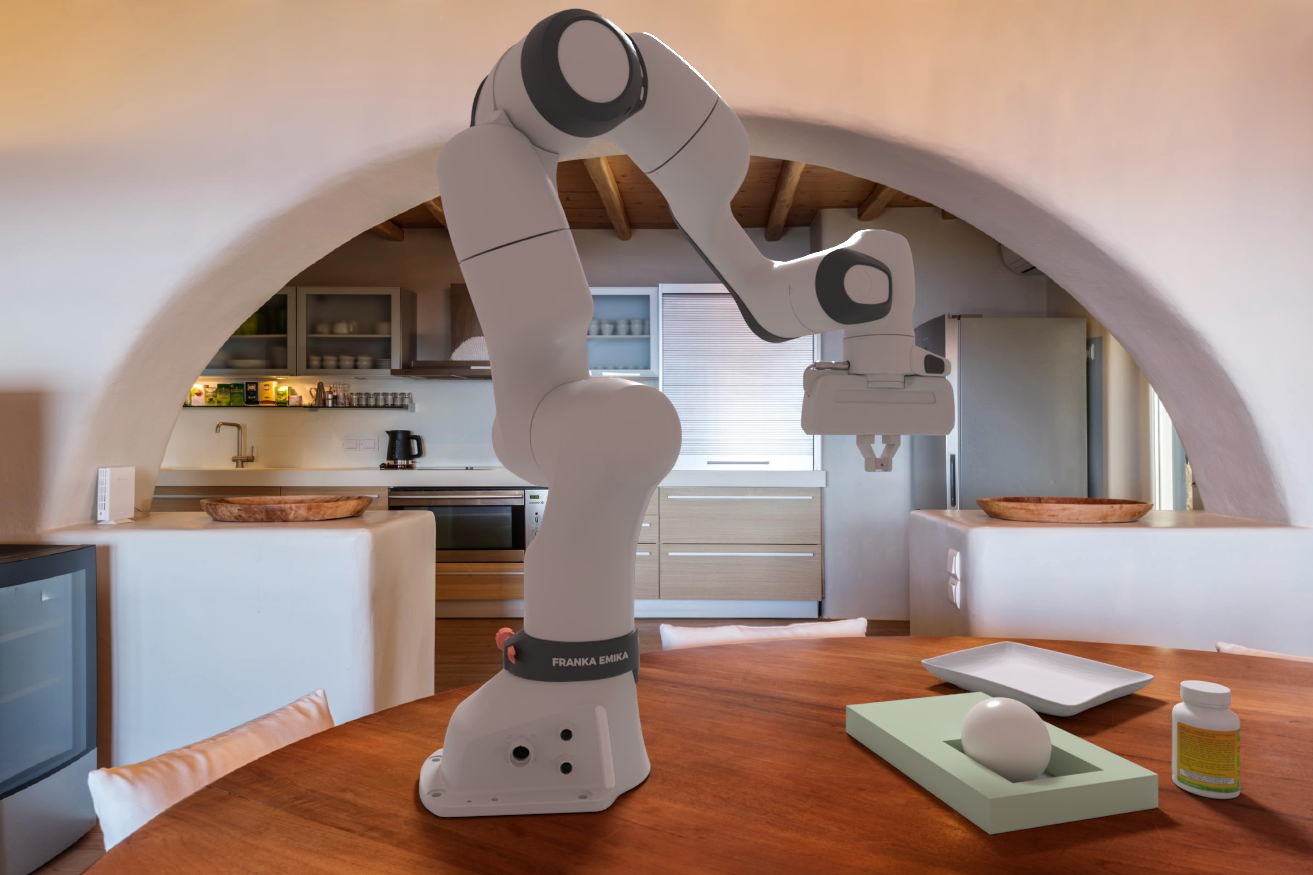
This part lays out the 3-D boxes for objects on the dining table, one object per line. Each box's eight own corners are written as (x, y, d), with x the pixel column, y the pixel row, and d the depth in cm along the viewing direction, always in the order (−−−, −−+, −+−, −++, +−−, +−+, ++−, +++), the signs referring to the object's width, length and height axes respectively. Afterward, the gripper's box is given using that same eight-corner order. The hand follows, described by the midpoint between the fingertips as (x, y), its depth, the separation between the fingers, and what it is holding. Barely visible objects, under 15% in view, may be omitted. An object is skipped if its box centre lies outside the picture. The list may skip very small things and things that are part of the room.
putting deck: (989, 834, 66) (989, 798, 66) (846, 731, 89) (846, 705, 89) (1158, 807, 71) (1158, 774, 71) (980, 716, 94) (980, 691, 94)
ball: (932, 747, 77) (985, 803, 77) (998, 744, 70) (1056, 806, 71) (960, 683, 81) (1010, 737, 82) (1025, 675, 75) (1079, 734, 76)
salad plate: (1158, 698, 102) (1158, 672, 102) (1072, 733, 90) (1072, 703, 90) (1006, 660, 120) (1006, 638, 120) (917, 685, 108) (917, 660, 108)
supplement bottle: (1252, 803, 72) (1252, 697, 72) (1187, 797, 73) (1187, 693, 73) (1222, 778, 77) (1223, 679, 77) (1162, 773, 78) (1162, 676, 78)
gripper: (815, 357, 94) (815, 473, 94) (962, 362, 99) (962, 472, 99) (792, 362, 100) (792, 471, 100) (932, 366, 105) (932, 470, 105)
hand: (878, 471), depth 100 cm, fingers closed
